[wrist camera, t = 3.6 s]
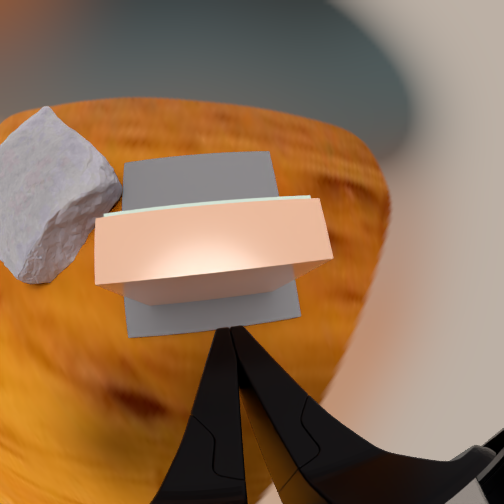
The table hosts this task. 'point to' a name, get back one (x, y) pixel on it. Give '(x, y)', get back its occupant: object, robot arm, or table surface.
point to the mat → (194, 191)
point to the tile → (209, 248)
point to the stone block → (50, 196)
